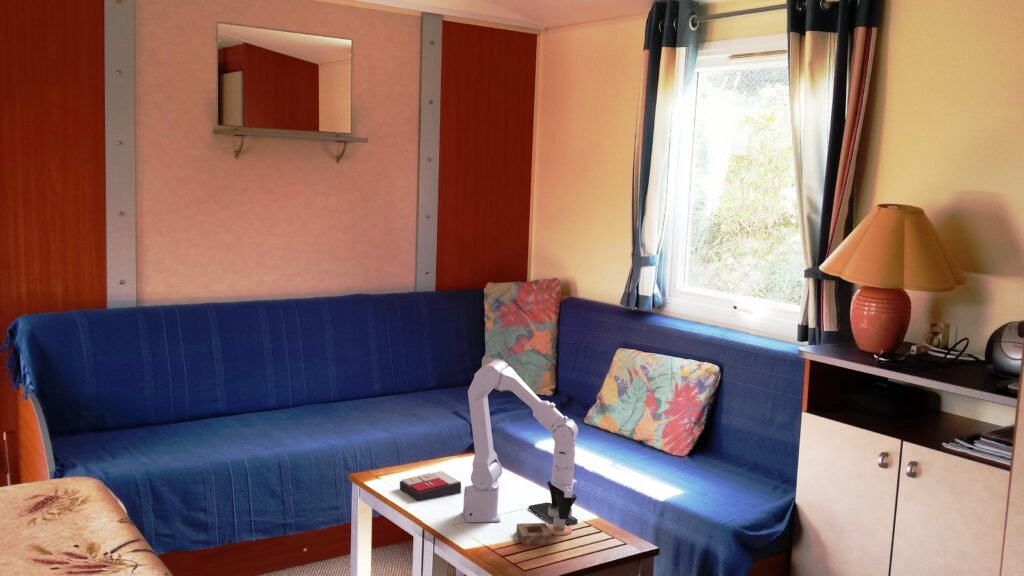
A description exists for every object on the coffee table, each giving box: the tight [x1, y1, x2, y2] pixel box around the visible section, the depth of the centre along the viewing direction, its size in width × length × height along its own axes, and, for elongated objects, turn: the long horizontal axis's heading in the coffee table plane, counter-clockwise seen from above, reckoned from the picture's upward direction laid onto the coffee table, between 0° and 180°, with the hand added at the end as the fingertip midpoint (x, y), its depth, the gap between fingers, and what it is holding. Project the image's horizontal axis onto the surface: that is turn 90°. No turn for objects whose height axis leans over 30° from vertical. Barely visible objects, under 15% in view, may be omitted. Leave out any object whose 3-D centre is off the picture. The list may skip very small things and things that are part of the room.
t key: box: [548, 506, 573, 531], centre depth 242 cm, size 6×3×6 cm, turn 101°
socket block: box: [516, 522, 554, 546], centre depth 236 cm, size 8×8×2 cm
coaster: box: [547, 523, 573, 536], centre depth 243 cm, size 7×7×1 cm
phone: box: [528, 501, 579, 526], centre depth 253 cm, size 8×1×15 cm
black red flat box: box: [399, 470, 462, 502], centre depth 265 cm, size 11×4×15 cm
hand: (559, 513), depth 242 cm, fingers open, 7 cm apart
